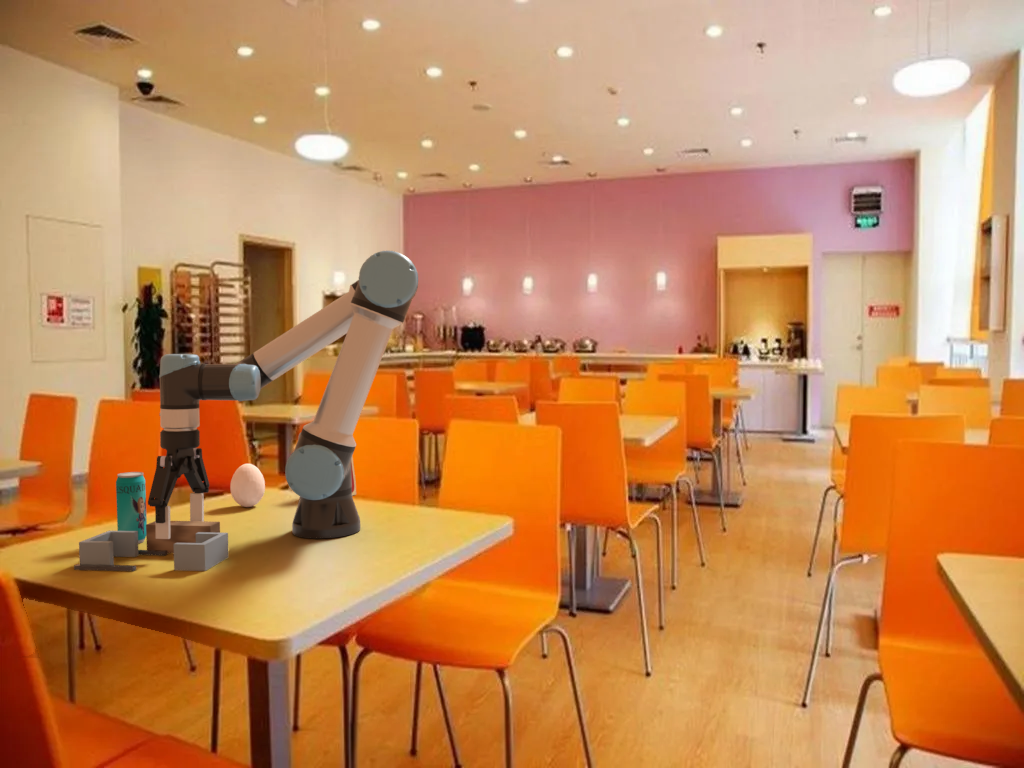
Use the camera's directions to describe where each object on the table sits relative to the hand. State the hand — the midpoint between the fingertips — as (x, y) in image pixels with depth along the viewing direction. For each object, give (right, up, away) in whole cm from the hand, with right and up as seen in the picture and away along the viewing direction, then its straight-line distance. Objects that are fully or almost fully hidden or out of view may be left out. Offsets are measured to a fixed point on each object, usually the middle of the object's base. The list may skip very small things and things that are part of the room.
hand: (180, 530), depth 167 cm
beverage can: (-14, -4, +8) cm, 16 cm away
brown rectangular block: (+1, -4, 0) cm, 4 cm away
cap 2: (+8, -5, -10) cm, 13 cm away
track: (-8, -5, -8) cm, 12 cm away
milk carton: (+19, -1, +60) cm, 63 cm away
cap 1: (-10, -5, -8) cm, 14 cm away
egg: (-1, -2, +45) cm, 45 cm away
